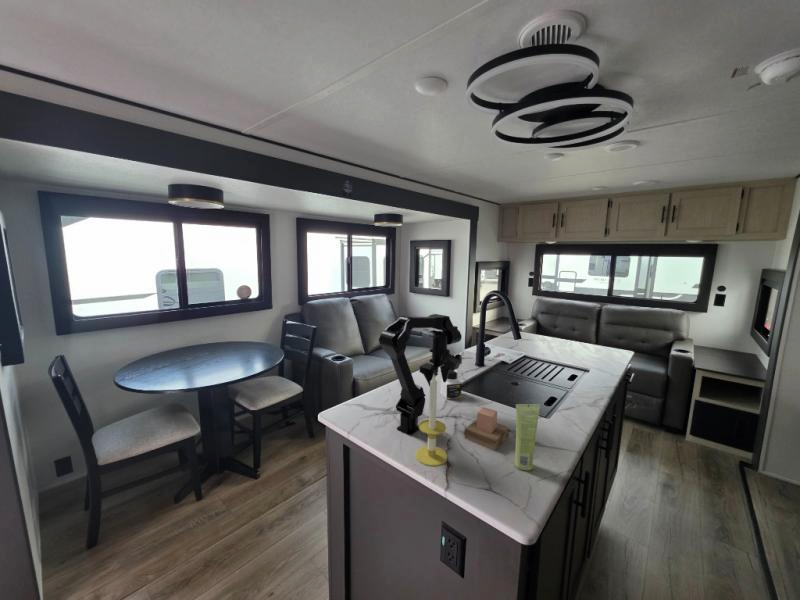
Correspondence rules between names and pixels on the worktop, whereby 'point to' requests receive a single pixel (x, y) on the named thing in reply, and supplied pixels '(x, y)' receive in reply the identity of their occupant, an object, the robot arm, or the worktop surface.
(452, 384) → the medicine bottle
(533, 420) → the tube
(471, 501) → the worktop surface
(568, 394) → the worktop surface
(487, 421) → the terracotta block
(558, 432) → the worktop surface
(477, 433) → the walnut block
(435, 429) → the candle
